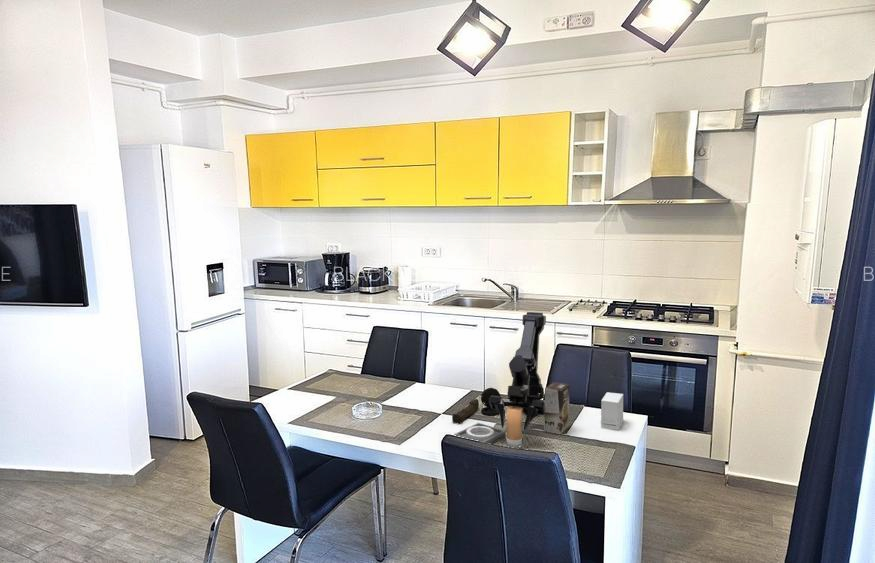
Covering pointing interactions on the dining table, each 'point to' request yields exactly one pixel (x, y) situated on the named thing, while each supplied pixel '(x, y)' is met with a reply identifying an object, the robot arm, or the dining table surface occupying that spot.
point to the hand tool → (466, 411)
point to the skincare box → (612, 411)
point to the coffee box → (556, 407)
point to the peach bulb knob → (514, 426)
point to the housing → (482, 433)
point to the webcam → (485, 399)
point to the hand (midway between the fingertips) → (513, 428)
